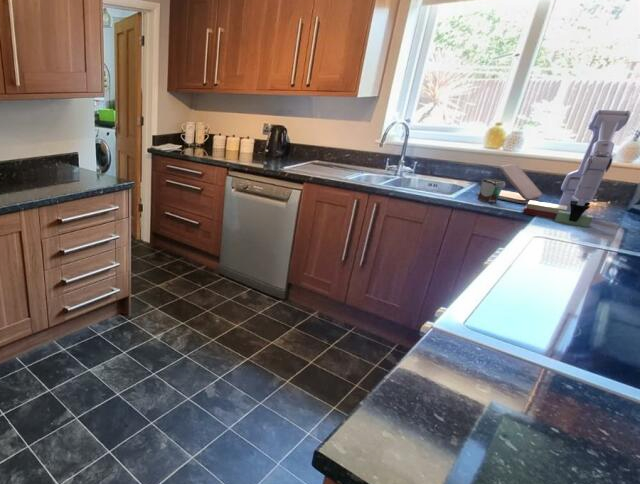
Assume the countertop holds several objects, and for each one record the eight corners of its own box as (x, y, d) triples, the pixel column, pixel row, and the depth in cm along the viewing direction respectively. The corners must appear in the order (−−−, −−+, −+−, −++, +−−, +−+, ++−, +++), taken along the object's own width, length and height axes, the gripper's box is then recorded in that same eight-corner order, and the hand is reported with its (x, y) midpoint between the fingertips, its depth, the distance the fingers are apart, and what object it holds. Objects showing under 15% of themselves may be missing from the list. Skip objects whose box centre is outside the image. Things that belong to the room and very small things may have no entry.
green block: (555, 219, 178) (558, 210, 176) (588, 225, 171) (592, 215, 170) (554, 221, 175) (558, 212, 173) (588, 227, 168) (592, 217, 167)
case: (525, 205, 201) (538, 171, 195) (474, 195, 217) (485, 163, 211) (542, 201, 210) (555, 168, 204) (492, 191, 227) (503, 161, 221)
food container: (504, 205, 199) (512, 184, 195) (490, 203, 200) (497, 183, 196) (489, 198, 210) (496, 178, 207) (475, 197, 211) (482, 177, 208)
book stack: (525, 209, 193) (528, 199, 191) (564, 215, 184) (568, 206, 183) (522, 213, 186) (526, 203, 184) (563, 220, 177) (567, 210, 175)
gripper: (602, 191, 160) (586, 225, 165) (601, 186, 170) (586, 219, 175) (576, 188, 165) (561, 221, 170) (577, 183, 174) (563, 215, 179)
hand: (572, 220), depth 173 cm, fingers closed on green block, 5 cm apart
